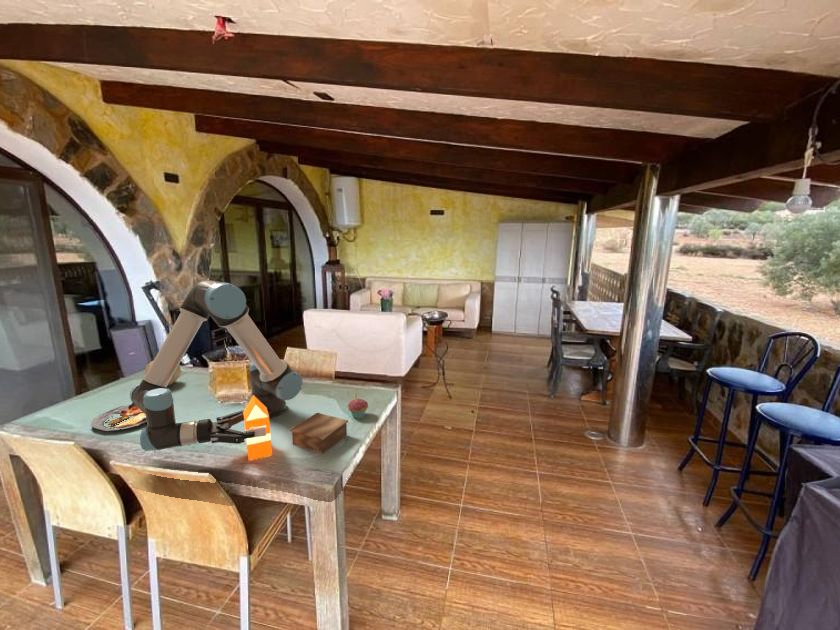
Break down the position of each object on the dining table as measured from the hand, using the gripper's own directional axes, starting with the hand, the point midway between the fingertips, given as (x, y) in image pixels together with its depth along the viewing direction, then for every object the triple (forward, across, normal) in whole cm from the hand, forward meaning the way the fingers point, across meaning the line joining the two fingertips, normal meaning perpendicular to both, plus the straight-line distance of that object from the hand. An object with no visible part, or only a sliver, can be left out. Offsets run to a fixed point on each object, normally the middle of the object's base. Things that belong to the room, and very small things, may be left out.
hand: (266, 422), depth 135 cm
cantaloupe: (-51, -80, -11) cm, 95 cm away
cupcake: (+35, -16, -11) cm, 40 cm away
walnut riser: (+18, -2, -11) cm, 21 cm away
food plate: (-54, -44, -11) cm, 71 cm away
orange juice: (-3, 0, -11) cm, 12 cm away
